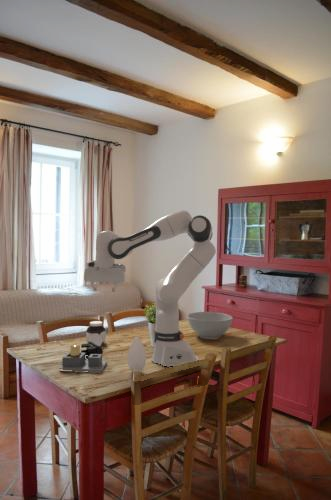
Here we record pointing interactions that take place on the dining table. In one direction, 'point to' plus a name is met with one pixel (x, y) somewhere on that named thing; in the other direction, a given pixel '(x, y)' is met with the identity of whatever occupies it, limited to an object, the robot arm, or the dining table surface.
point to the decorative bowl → (209, 324)
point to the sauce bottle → (136, 355)
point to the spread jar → (96, 333)
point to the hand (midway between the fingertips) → (104, 291)
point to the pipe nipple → (75, 351)
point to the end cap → (91, 349)
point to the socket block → (83, 363)
